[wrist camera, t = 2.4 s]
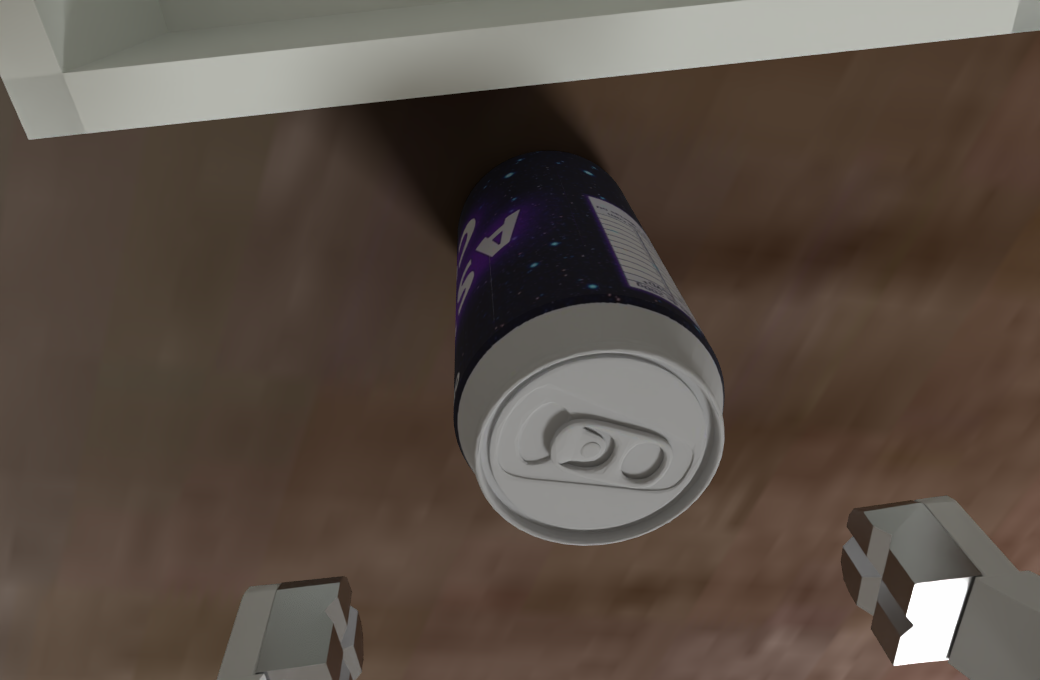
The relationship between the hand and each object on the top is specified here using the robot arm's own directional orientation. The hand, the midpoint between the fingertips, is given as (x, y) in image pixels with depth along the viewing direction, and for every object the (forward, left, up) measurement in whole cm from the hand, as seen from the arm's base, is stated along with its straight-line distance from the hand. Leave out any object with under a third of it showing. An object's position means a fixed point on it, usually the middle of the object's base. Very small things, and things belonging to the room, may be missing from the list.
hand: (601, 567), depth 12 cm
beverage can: (0, 0, -15) cm, 15 cm away
